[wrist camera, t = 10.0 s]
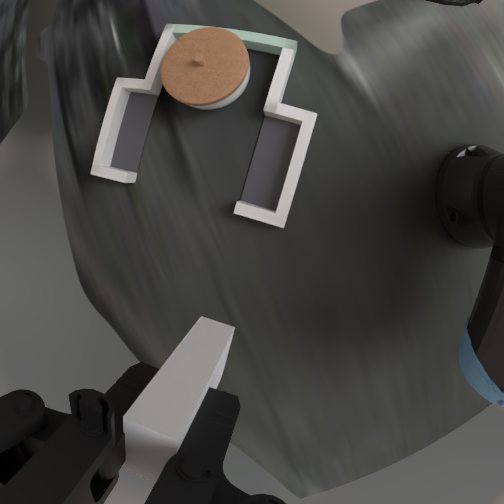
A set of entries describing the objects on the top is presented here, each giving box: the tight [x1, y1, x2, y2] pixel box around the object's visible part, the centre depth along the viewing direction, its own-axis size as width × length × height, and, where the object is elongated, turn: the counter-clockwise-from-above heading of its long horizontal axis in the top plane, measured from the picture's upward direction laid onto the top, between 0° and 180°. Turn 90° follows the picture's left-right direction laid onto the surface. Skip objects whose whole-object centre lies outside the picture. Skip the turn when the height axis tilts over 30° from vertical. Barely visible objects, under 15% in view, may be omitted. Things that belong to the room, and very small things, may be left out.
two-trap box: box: [91, 24, 317, 228], centre depth 37 cm, size 29×24×3 cm
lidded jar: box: [161, 27, 250, 110], centre depth 33 cm, size 11×11×9 cm
